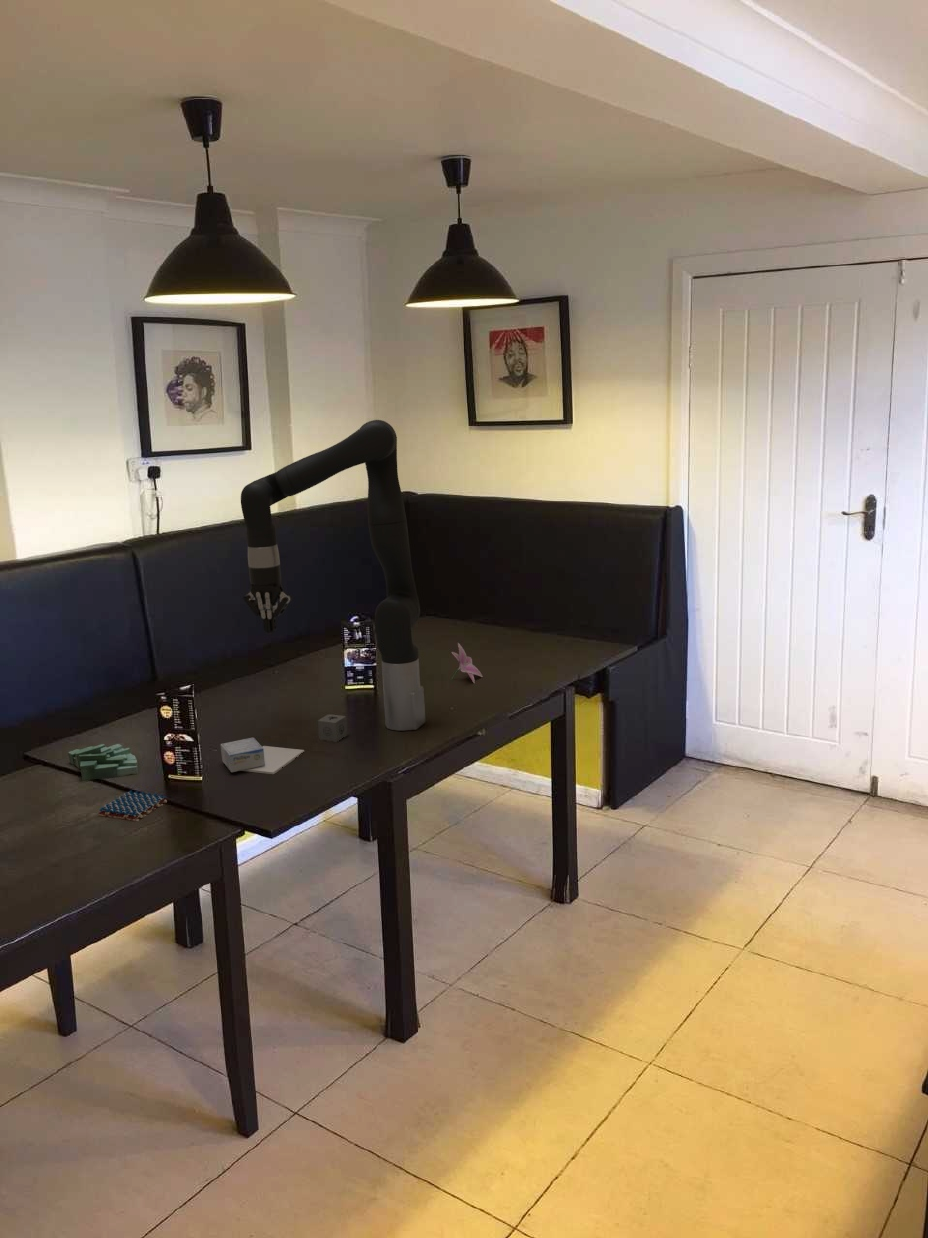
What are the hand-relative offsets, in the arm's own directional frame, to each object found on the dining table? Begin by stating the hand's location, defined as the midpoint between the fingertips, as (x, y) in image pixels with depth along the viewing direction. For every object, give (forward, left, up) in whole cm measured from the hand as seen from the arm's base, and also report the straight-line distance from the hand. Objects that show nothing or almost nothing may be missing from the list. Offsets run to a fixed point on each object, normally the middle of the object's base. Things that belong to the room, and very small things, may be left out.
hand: (270, 632), depth 255 cm
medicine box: (-2, +21, -22) cm, 31 cm away
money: (+26, +33, -26) cm, 49 cm away
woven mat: (+5, +51, -26) cm, 57 cm away
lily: (-32, -49, -25) cm, 64 cm away
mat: (-9, +20, -25) cm, 33 cm away
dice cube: (-17, +3, -25) cm, 30 cm away
